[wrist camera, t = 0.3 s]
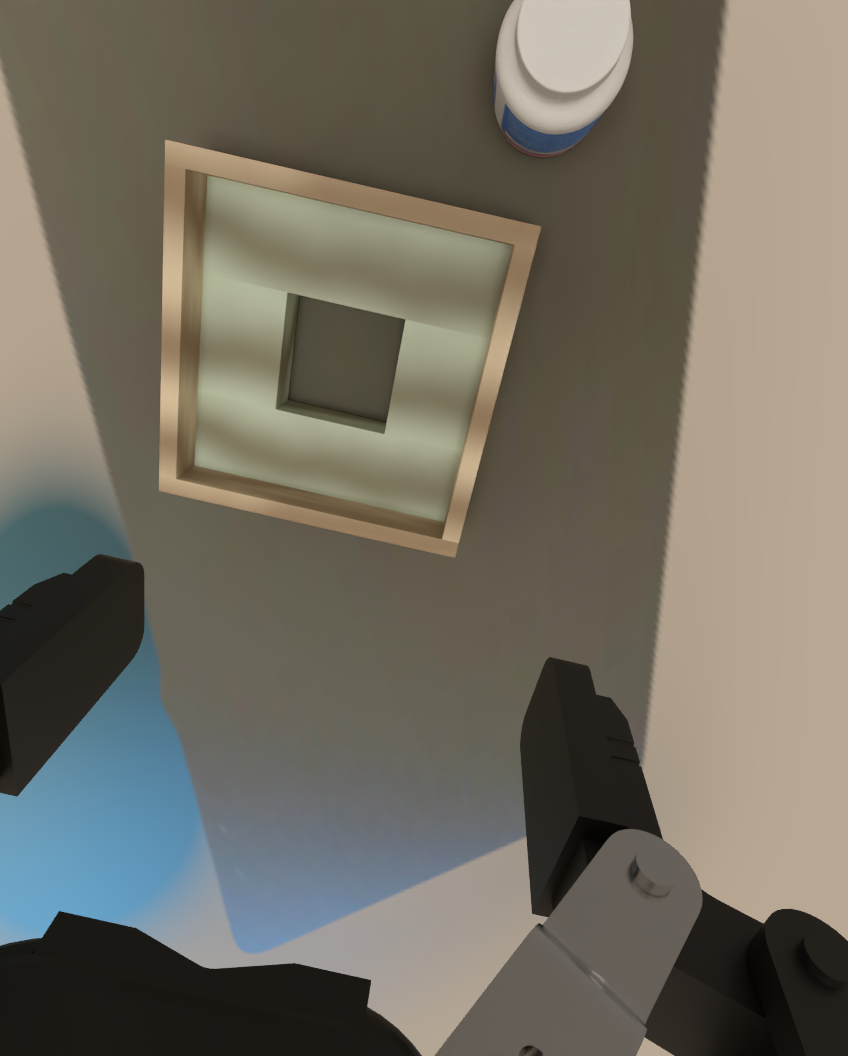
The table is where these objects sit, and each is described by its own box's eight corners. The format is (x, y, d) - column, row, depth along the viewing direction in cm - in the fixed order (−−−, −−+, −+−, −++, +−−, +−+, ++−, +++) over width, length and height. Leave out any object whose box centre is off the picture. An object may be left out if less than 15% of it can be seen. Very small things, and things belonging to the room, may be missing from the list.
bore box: (209, 155, 32) (165, 139, 28) (532, 230, 33) (541, 226, 28) (195, 464, 40) (158, 490, 36) (457, 523, 40) (454, 557, 36)
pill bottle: (616, 125, 30) (672, 72, 21) (517, 178, 32) (530, 149, 23) (580, 2, 28) (625, -112, 20) (476, 64, 30) (473, -16, 21)
